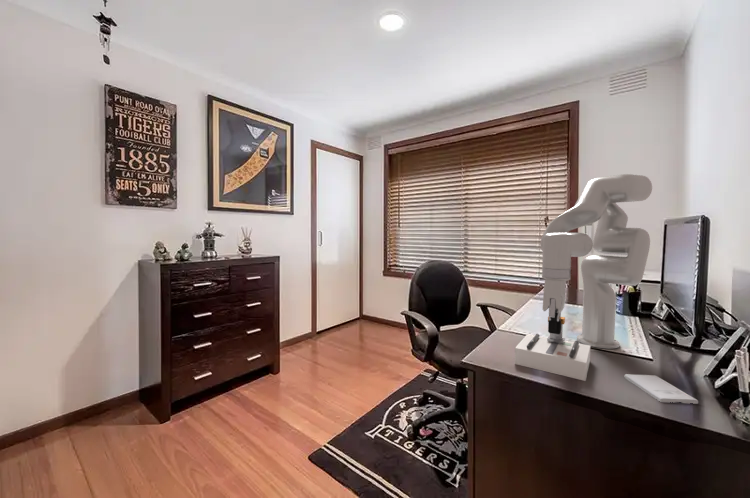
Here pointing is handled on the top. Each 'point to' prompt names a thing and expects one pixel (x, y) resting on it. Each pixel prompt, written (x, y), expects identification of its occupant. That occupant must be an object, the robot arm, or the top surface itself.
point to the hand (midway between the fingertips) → (554, 332)
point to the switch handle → (557, 337)
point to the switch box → (553, 356)
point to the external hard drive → (660, 389)
